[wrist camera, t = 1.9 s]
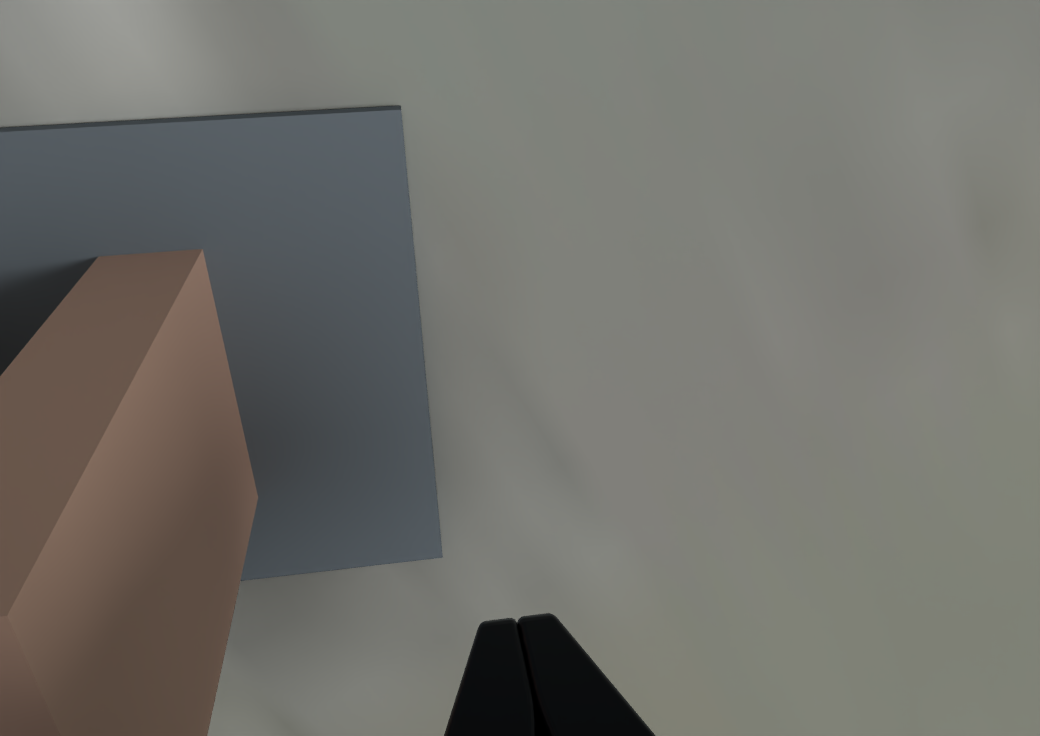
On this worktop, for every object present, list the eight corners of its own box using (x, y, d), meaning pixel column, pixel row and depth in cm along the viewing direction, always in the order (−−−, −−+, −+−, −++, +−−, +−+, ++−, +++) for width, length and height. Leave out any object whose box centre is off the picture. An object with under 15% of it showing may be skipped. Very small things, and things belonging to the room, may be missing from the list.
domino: (203, 249, 13) (7, 616, 6) (258, 497, 16) (159, 956, 9) (98, 256, 13) (-218, 641, 6) (170, 507, 16) (0, 983, 9)
